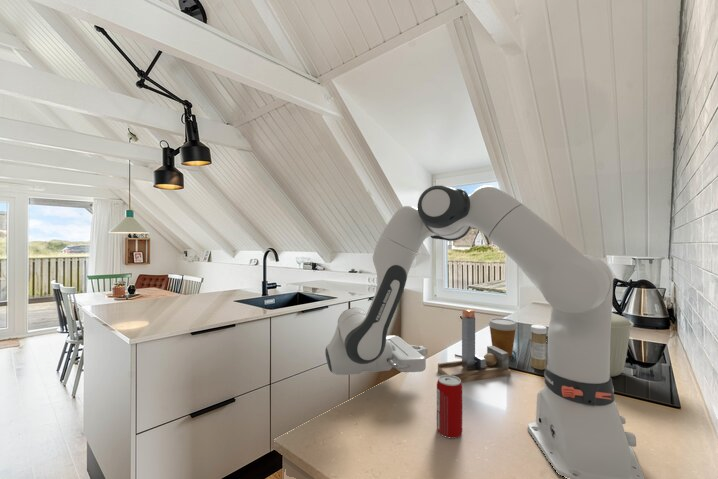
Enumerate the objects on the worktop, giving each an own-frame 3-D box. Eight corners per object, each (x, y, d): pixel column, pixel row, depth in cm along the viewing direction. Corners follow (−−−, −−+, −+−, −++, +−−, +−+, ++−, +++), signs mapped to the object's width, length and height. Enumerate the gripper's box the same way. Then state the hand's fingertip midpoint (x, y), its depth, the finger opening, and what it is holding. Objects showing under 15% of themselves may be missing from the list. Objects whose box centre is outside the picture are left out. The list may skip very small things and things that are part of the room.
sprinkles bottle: (534, 363, 111) (534, 323, 111) (548, 367, 108) (549, 326, 107) (528, 366, 108) (528, 326, 108) (542, 371, 105) (543, 329, 104)
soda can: (467, 437, 71) (467, 382, 71) (444, 441, 70) (444, 385, 69) (453, 423, 76) (453, 371, 76) (432, 426, 75) (432, 374, 75)
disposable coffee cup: (523, 356, 117) (523, 323, 117) (502, 360, 113) (502, 326, 113) (502, 348, 126) (502, 316, 125) (482, 351, 122) (482, 319, 122)
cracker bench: (453, 383, 96) (453, 361, 96) (437, 371, 105) (437, 350, 105) (510, 375, 102) (510, 354, 102) (491, 364, 111) (491, 344, 110)
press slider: (469, 373, 99) (469, 313, 99) (457, 364, 106) (457, 308, 105) (485, 370, 101) (486, 312, 101) (473, 362, 107) (473, 307, 107)
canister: (589, 383, 96) (589, 311, 96) (550, 359, 114) (551, 298, 114) (649, 382, 97) (650, 310, 96) (602, 358, 115) (602, 298, 114)
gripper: (395, 357, 85) (443, 351, 89) (371, 333, 105) (411, 329, 109) (395, 381, 85) (443, 375, 89) (371, 352, 105) (411, 348, 109)
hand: (425, 350), depth 99 cm, fingers closed
